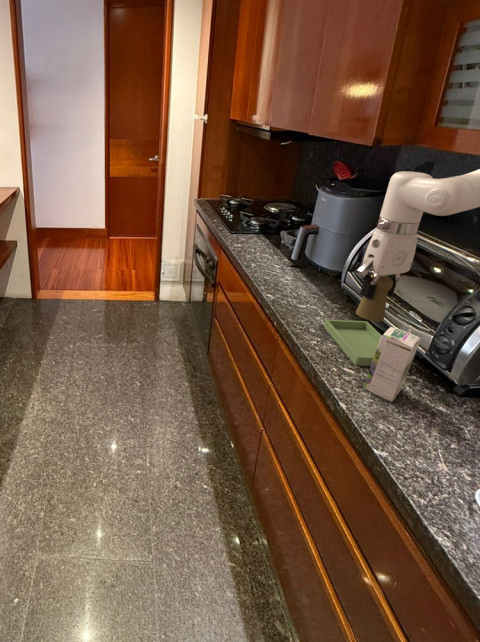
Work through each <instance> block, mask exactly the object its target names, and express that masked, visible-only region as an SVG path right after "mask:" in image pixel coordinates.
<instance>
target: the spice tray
mask: <svg viewBox="0 0 480 642" xmlns="http://www.w3.org/2000/svg"><path fill="white" fill-rule="evenodd" d="M323 328H324V329H325V331H326V332H327V333H328V334H329V335H330V336H331V338H333V340H334V341H335V343H336V344H337V345H338V346H339V347H340V348H341V350H342V351H343V352H344V353H345V354H346V356H347V357H348V358H349V360H350V361H351V363H353V364H354V366H364V367H367V366H368V367H371V364H372V361H373V359H374V356H375V353H376V350H377V347H378V345H379V342H380V339H381V336H383V334H381V333H380V332H379V331H378V330H376V328H375V327H374V326H372V324H370V323H369V322H368V320H345V319H343V320H342V319H325V320H324V324H323Z"/></svg>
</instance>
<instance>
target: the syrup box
mask: <svg viewBox="0 0 480 642" xmlns="http://www.w3.org/2000/svg"><path fill="white" fill-rule="evenodd" d="M421 340H422V338H421V337H419V336H417V335H415V334H413V333H411V332H408V331H405V330H403V329H401V328H396V327H392V326H390V327H389V328H388V329H387V330H386V331H385V332H384V333H383V334H382V336H381V339H380V342H379V345H378V347H377V350H376V353H375V356H374V359H373V361H372V364H371V366H369V370H368V373H367V376H366V378H365V381H364V385H363V388H362V389H364V390H366V391H368V392H370V393H372V394H374V395H375V396H378V397H380V398H382V399H384V400H387V401H390V403H391V402H392V403H393V402H394V401H395V399H397V396H398V395H399V393H400V392H401V390H402V388H403V386H404V383H405V380H406V378H407V376H408V373H409V370H410V368H411V366H412V363H413V360H414V358H415V356H416V353H417V350H418V347H419V346H420V343H421Z"/></svg>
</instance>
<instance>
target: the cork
mask: <svg viewBox="0 0 480 642" xmlns="http://www.w3.org/2000/svg"><path fill="white" fill-rule="evenodd" d="M370 276H371V277H372V278H373V276H374V274H370ZM375 285H377V288H376V291H375V294H374V297H373V299H372V300H369V299H367V298H366V297H364V296H362V298H361V300H360V302H359V304H358V306H357V308H356V311H355V314H356V315H357V316H358V317H360V318H361V319H363V320H365V321H369V322H383V321H384V319H385V316H386V315H385V313H386V306H387V300H388V296H387V294H388V291H389V290H390V289H391V288H392V286H393V281H392V279H391V278H389V277H388V276H386V275H385V276H379V278H378V280H377V282H376V284H375Z"/></svg>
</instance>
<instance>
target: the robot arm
mask: <svg viewBox="0 0 480 642" xmlns="http://www.w3.org/2000/svg"><path fill="white" fill-rule="evenodd" d="M476 208H480V168H479V169H476V170H473V171H471V172H468V173H465V174H461V175H456V176H449V177H445V178H443V177H442V178H433V176H431V174H428V173H424V172H419V171H397V172H395V173H394V174H393V175H391V177H390V178H389V182H388V186H387V189H386V193H385V196H384V200H383V203H382V206H381V210H380V214H379V217H378V221H377V225H376V227H375V230H374V232H373V234H372V236H371V239H370V240H369V243H368V245H367V247H366V251H365V253H364V256H363V260H362V264H361V266H360V267H358V269H357V270H356V272H357V274H358V275H359V276H360V278H361V281H363V282H362V285H361V288H360V292H359V295H360V296H362V297H363V296H364V297H366V298H367V299H369V300H372V299H373V297H374V294H375V291H376V288H377V285H375V284H376V282H377V280H378V278H379V276H388V277H389V278H391V279H392V281H393V286H392V288H391V289H390V290H389V291H388V294H387V297H390V298H391V297H393V295H394V293H395V289H396V287H397V283H398V282H399V281H400V279H401V277H402V276H403V275H404V274H405V273H407V272H409V271H410V270H411V267H412V264H413V261H414V258H415V254H416V249H417V244H418V230H419V226H420V223H421V220H422V217H423V214H424V213H426V214H429V215H432V216H433V215H434V216H439V217H444V216H451V215H455V214H459V213H462V212H466V211H470V210H474V209H476ZM373 274H374V276H373V278H372V277H371V276H370V275H373Z"/></svg>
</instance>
